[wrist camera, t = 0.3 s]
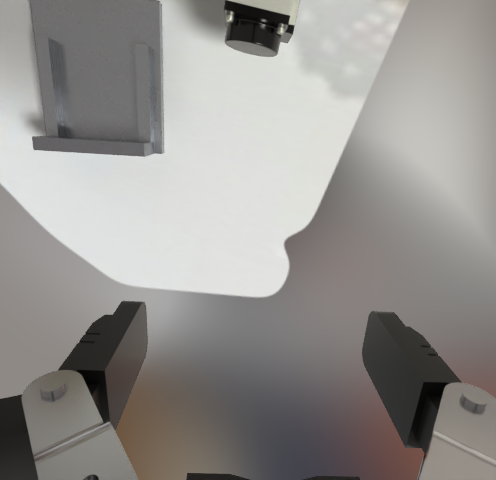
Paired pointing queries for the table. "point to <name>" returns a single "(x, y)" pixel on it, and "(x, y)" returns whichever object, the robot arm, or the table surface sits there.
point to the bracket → (100, 75)
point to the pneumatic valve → (259, 25)
